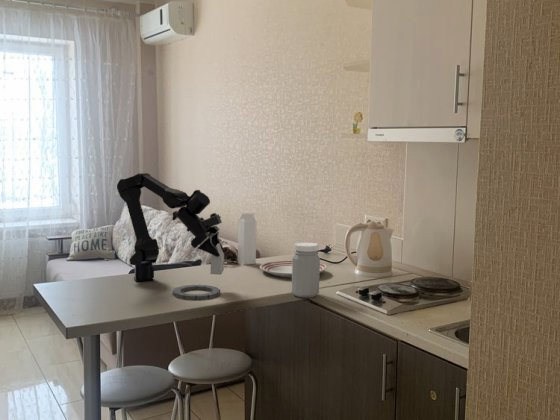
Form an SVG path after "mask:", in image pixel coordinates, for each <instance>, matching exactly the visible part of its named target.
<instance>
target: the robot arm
mask: <svg viewBox="0 0 560 420" xmlns="http://www.w3.org/2000/svg"><path fill="white" fill-rule="evenodd" d="M143 188H145V189H147V190H149V191H150V192H152V193H154V194H155V195H157V196H158V197H159V198H161V199H162V201H163V203H164V204H165V205H166V206H167V207H168V208H169V209H178V210H175V211H173V212H172V221H175V220H177V219H178V220H179V221H180V222H181V223H182V224H183V226H185V228H186V231H187V233H189V232H190V233H191V234H192V236H193V238H192V240H190V246H192V248H193V249H196V248H197V249H198V250H201V251H203V252H205V253H208V254H210V255H211V256H212V255H214V256H216V257H219V256H220V254H219V252H218V251H217V249H216V248H215V247H216V245H217V244H218V243H220V246H221V249H222V251H223V253H224V252H225V250H224V248H223V247H224V246H223V245H222V243H221V241H220V238H219V234H220V232H219V231H220V228H219V227H218V226H217V225H220V224H222V223H223V222H222V219H221V218H222V217H221V215H220V214H217V213H216V212H214V213H211V214H210V215H209V217H208V218H206V219H204V217H199V215H200V214H201V213H202V212H203V211H204V209H206V208H207V207H208V206H209V205H210V203H211V200H210V197H209V196H208V195H207V194H205V193H204V192H202V191H201V190H200V189H195V190H193V191H192V194H191V195H188V193H187V192H185V191H183V190H180V189H177V188H176V189H175V188H172V187H170V186H168V185H166V184H165V183H164V182H161V181H160V180H158V179H156V178H155V177H153V176H152V175H151V174H150V173H148V172H142V173H140V172H139V173H137V174H135V175H133V176H130V177H127V178H122V179H119V180H118V183H117V184H116V190H117V192H118V194H119V196H120V199H122V200H123V201H124V202H125V203H126V206H127V211H128V213H129V217H130V220H131V225H132V228H133V233H134V236H135V239H136V240H135V243H134V254H132V255H131V256H130V258H129V262H130V265H132V266H134V276H133V279H134V281H135V282H137V283H138V282H151V281H152V282H153V281H154V278H155V268H154V267H153V264H156V262H157V259H158V256H159V255H160V247H159V245H158V239H156V238H152V237H151V235H150V233H149V229H148V227H147V222H146V219H145V216H144V212H143V207H142V205H141V204H142V203H141V199H140V198H141V195H142V189H143Z"/></svg>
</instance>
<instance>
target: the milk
mask: <svg viewBox="0 0 560 420" xmlns="http://www.w3.org/2000/svg"><path fill="white" fill-rule="evenodd" d="M237 222H238V225H237V226H238V227H237V228H238V229H237V231H238V232H237V261H238V264H241V265H243V266H245V265H255V264H256V263H257V262H256V261H257V219H256V218H255V216H254V213H252V212H251V213H249V212H248V213H241V216H240V218H239V219H238V221H237Z"/></svg>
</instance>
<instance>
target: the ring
mask: <svg viewBox="0 0 560 420" xmlns="http://www.w3.org/2000/svg"><path fill="white" fill-rule="evenodd" d="M197 290H198V291H206V293H197V294H196V293H194V294H193V293H186V292H187V291H197ZM172 295H173V296H174V297H175V298H178V299H183V300H190V301H191V300H193V301H200V300H208V299H214V298H217V297H219V296H220V295H221V289H220V288H218V287H216V286H214V285H208V284H188V285H187V284H186V285H181V286H178V287H175V288H174V289H172Z"/></svg>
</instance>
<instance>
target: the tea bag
mask: <svg viewBox="0 0 560 420" xmlns="http://www.w3.org/2000/svg"><path fill="white" fill-rule="evenodd" d="M220 243H221V242H220ZM220 243H218V244H217V245H216V247H215V248H216V249H217V251H218V252H219V254H220V256H219V257H216V256H214V255H212V254H211V256H210V275H219V276H220V275H222V274H223V273H224V268H225V266H224V265H225V260H224V253H223V251H222V249H221V246H220Z"/></svg>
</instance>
